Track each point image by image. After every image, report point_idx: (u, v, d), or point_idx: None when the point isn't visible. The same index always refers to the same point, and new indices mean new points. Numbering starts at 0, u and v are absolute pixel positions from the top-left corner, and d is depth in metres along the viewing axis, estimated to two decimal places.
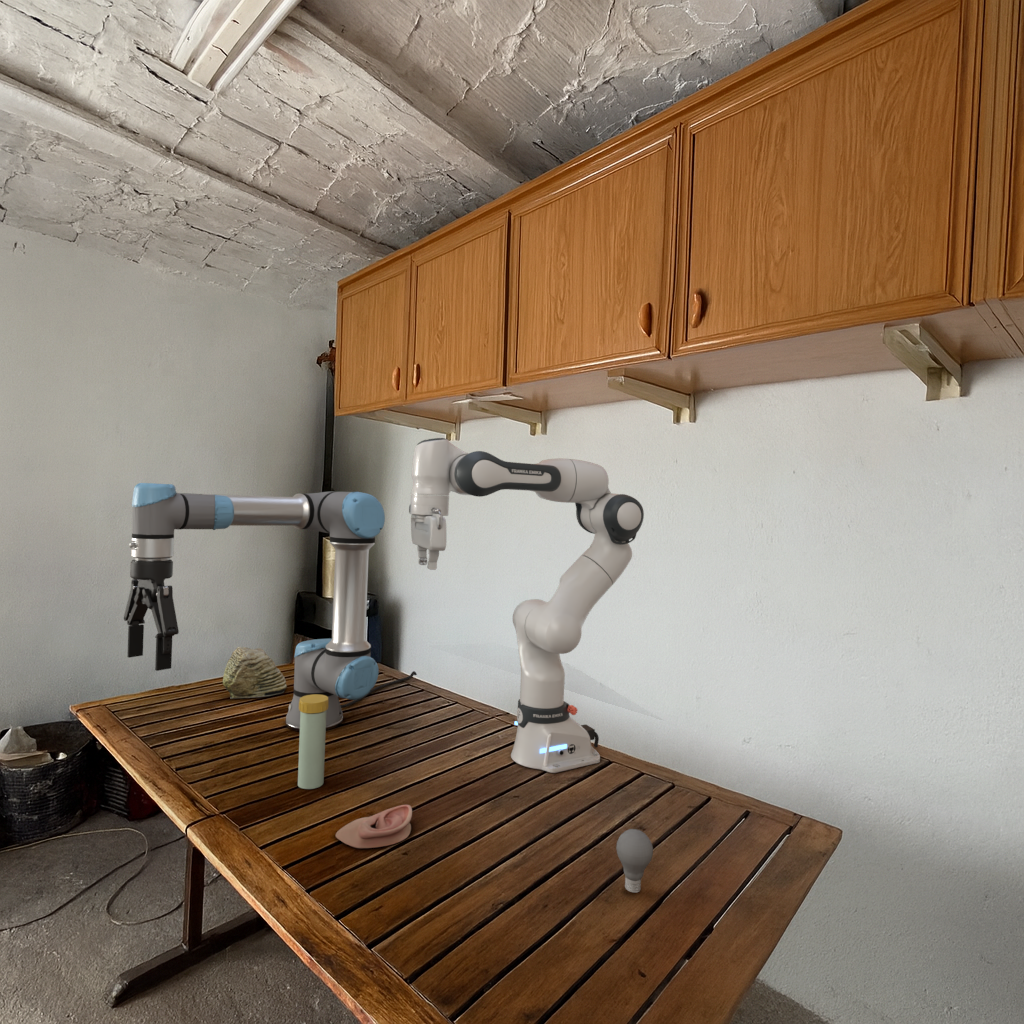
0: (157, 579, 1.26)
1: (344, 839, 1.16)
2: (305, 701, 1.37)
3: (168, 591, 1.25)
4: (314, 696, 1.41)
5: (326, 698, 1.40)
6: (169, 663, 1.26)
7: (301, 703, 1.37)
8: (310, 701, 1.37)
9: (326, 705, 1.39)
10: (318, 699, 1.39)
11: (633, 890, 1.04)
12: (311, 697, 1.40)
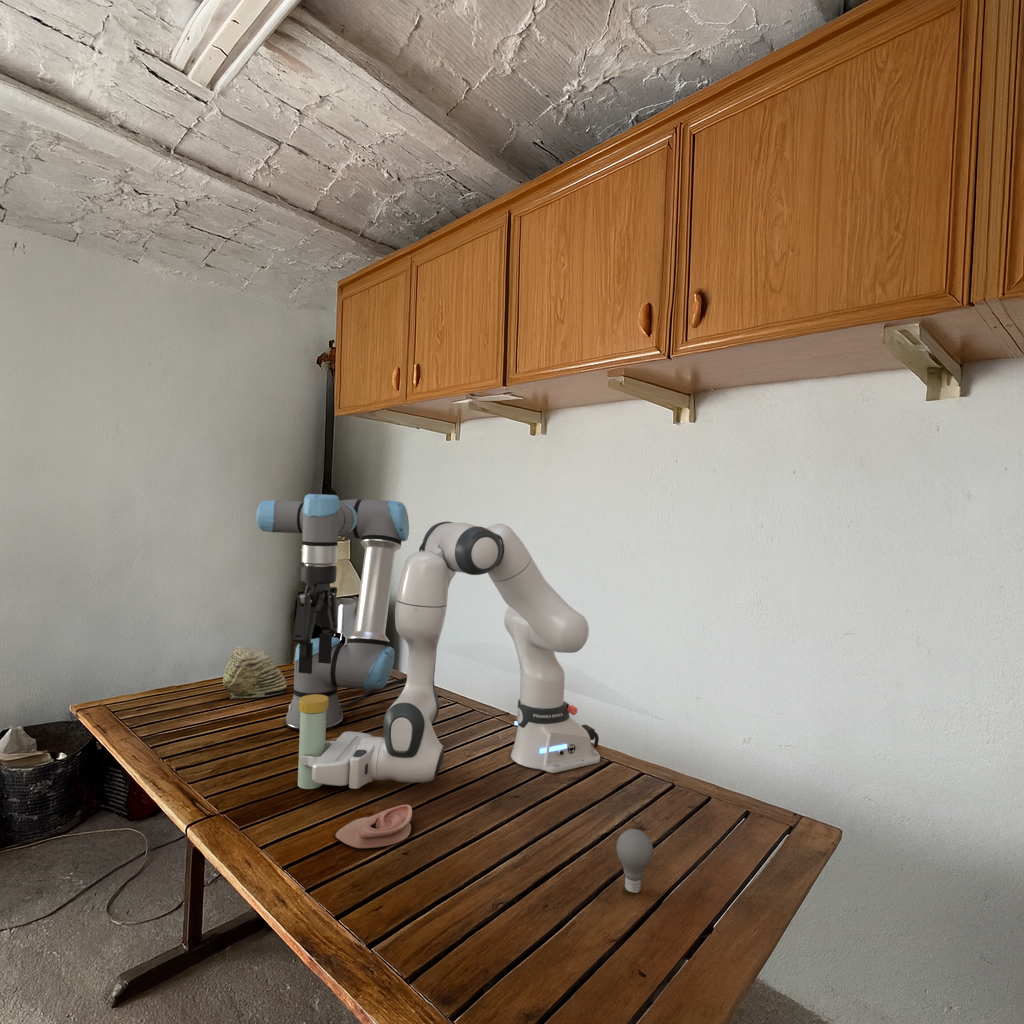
0: (308, 584, 1.35)
1: (344, 839, 1.16)
2: (305, 701, 1.37)
3: (304, 600, 1.32)
4: (314, 696, 1.41)
5: (326, 698, 1.40)
6: (308, 668, 1.34)
7: (301, 703, 1.37)
8: (310, 701, 1.37)
9: (326, 705, 1.39)
10: (318, 699, 1.39)
11: (633, 890, 1.04)
12: (311, 697, 1.40)
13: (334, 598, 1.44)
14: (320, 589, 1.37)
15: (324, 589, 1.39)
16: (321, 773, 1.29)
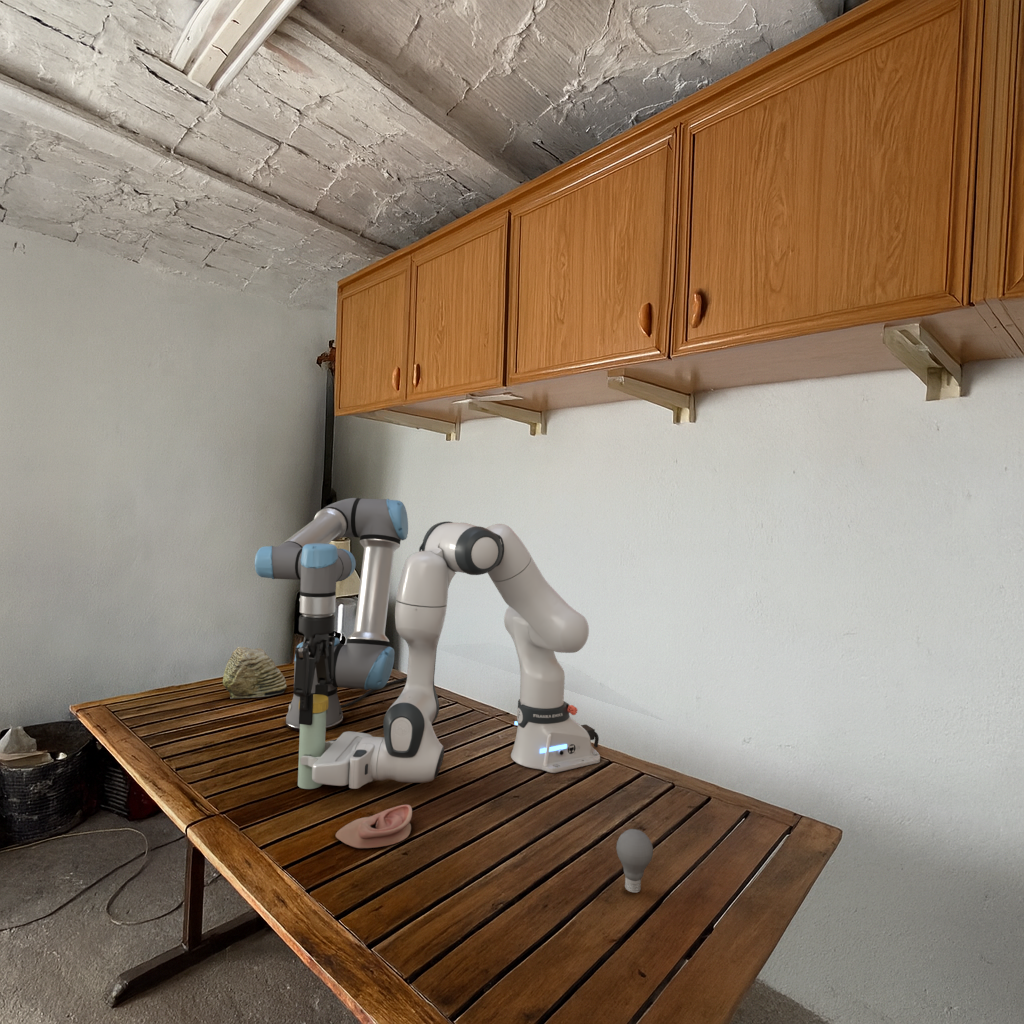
0: (306, 635, 1.35)
1: (344, 839, 1.16)
2: None
3: (302, 654, 1.33)
4: (314, 696, 1.41)
5: (326, 698, 1.40)
6: (309, 720, 1.36)
7: None
8: None
9: (326, 705, 1.39)
10: (318, 699, 1.39)
11: (633, 890, 1.04)
12: None
13: (332, 647, 1.44)
14: (318, 640, 1.38)
15: (322, 639, 1.40)
16: (321, 773, 1.29)
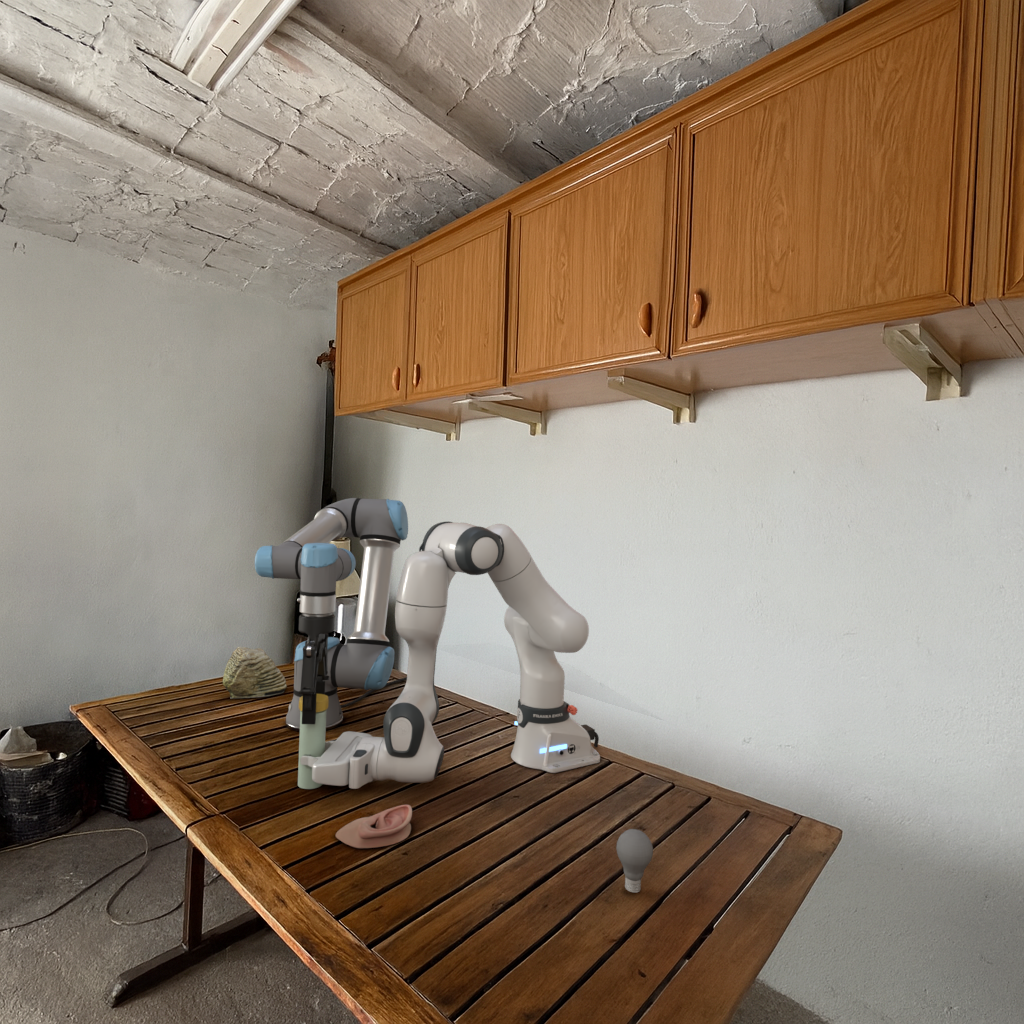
0: (311, 634, 1.35)
1: (344, 839, 1.16)
2: None
3: (310, 652, 1.32)
4: None
5: (322, 694, 1.42)
6: (313, 719, 1.35)
7: None
8: (319, 699, 1.38)
9: None
10: (319, 697, 1.40)
11: (633, 890, 1.04)
12: None
13: (326, 645, 1.45)
14: (320, 639, 1.38)
15: (322, 638, 1.40)
16: (321, 773, 1.29)
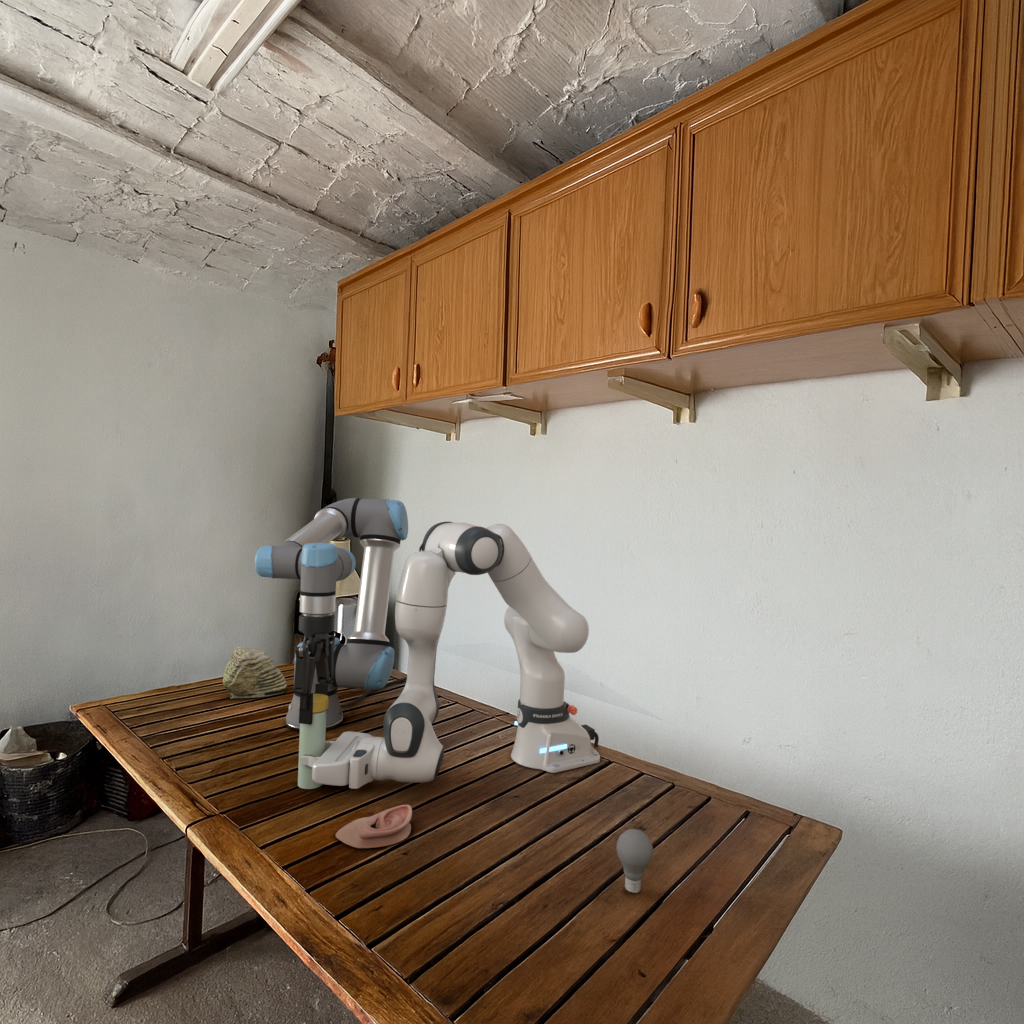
0: (306, 634, 1.35)
1: (344, 839, 1.16)
2: (315, 701, 1.37)
3: (302, 653, 1.33)
4: None
5: (322, 694, 1.42)
6: (309, 719, 1.36)
7: (313, 704, 1.36)
8: (319, 699, 1.38)
9: None
10: (319, 697, 1.40)
11: (633, 890, 1.04)
12: None
13: (332, 647, 1.44)
14: (318, 639, 1.38)
15: (322, 638, 1.40)
16: (321, 773, 1.29)
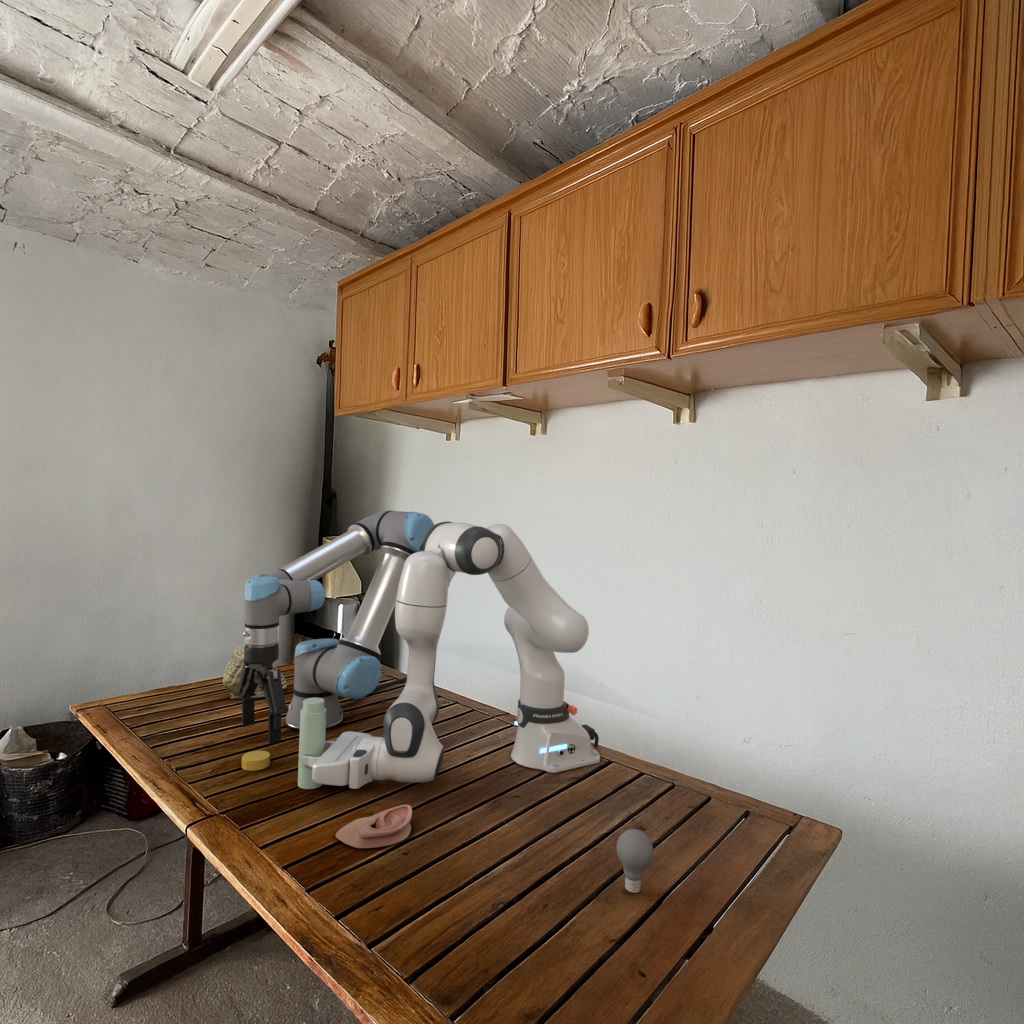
0: (267, 663, 1.45)
1: (344, 839, 1.16)
2: (265, 756, 1.47)
3: (277, 674, 1.43)
4: (249, 756, 1.47)
5: (253, 751, 1.50)
6: (279, 736, 1.44)
7: (266, 759, 1.47)
8: (265, 754, 1.48)
9: None
10: (258, 753, 1.49)
11: (633, 890, 1.04)
12: (253, 757, 1.47)
13: None
14: None
15: None
16: (321, 773, 1.29)
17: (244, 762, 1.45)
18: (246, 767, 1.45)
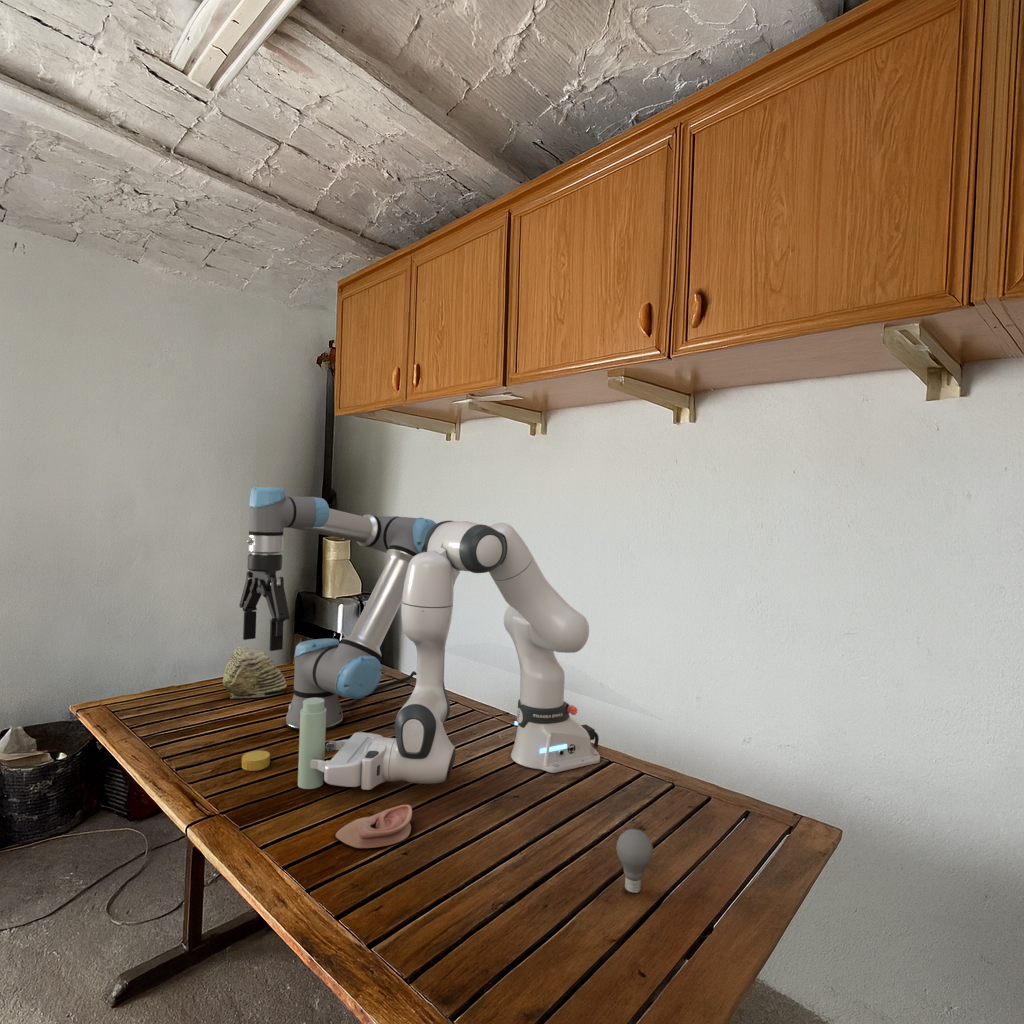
0: (270, 571, 1.44)
1: (344, 839, 1.16)
2: (265, 756, 1.47)
3: (280, 581, 1.43)
4: (249, 756, 1.47)
5: (253, 751, 1.50)
6: (281, 645, 1.43)
7: (266, 759, 1.47)
8: (265, 754, 1.48)
9: None
10: (258, 753, 1.49)
11: (633, 890, 1.04)
12: (253, 757, 1.47)
13: None
14: None
15: None
16: (334, 774, 1.29)
17: (244, 762, 1.45)
18: (246, 767, 1.45)
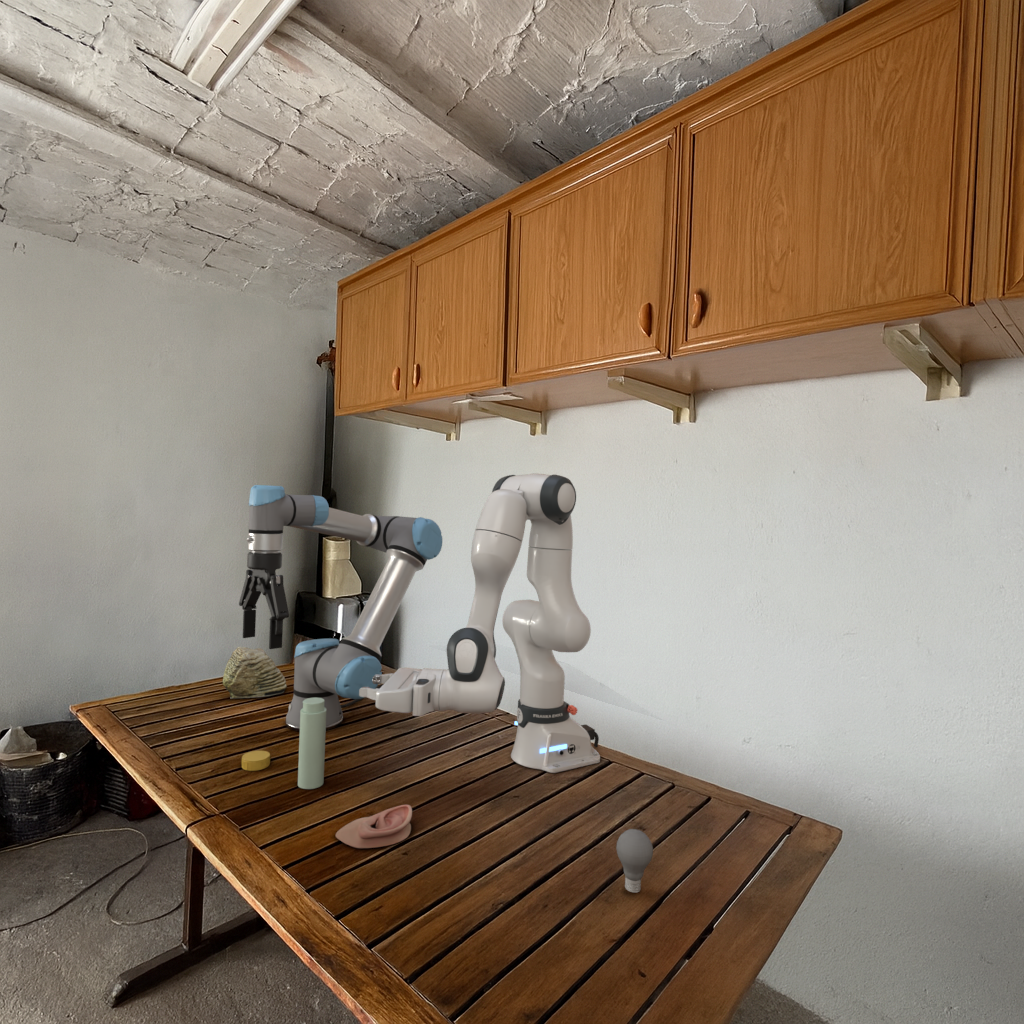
0: (270, 569, 1.44)
1: (344, 839, 1.16)
2: (265, 756, 1.47)
3: (280, 580, 1.43)
4: (249, 756, 1.47)
5: (253, 751, 1.50)
6: (280, 643, 1.43)
7: (266, 759, 1.47)
8: (265, 754, 1.48)
9: None
10: (258, 753, 1.49)
11: (633, 890, 1.04)
12: (253, 757, 1.47)
13: None
14: None
15: None
16: (385, 700, 1.28)
17: (244, 762, 1.45)
18: (246, 767, 1.45)
